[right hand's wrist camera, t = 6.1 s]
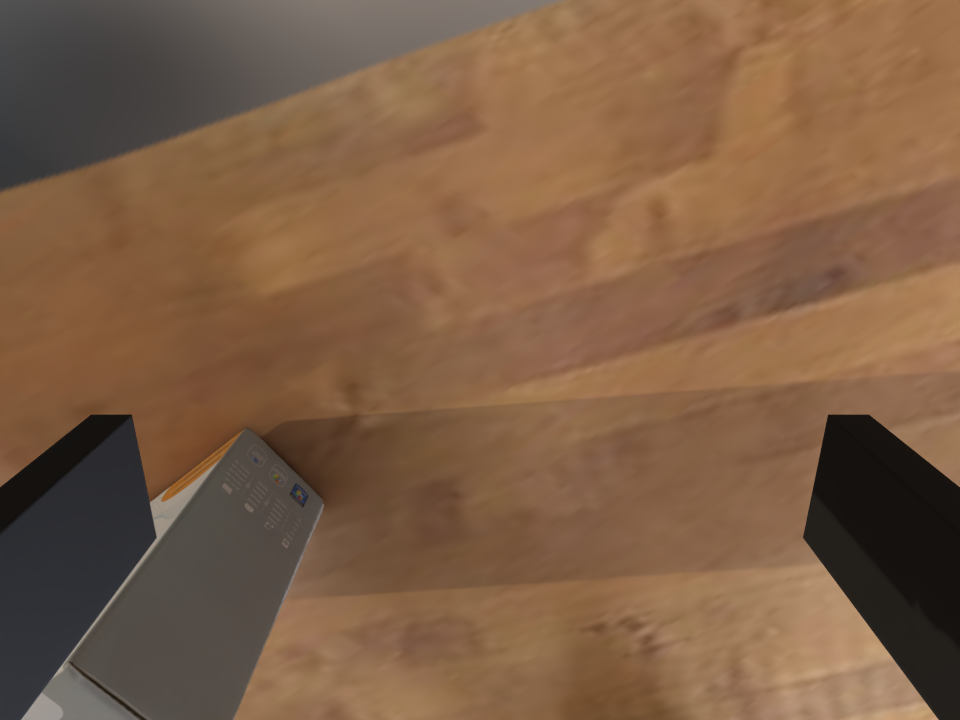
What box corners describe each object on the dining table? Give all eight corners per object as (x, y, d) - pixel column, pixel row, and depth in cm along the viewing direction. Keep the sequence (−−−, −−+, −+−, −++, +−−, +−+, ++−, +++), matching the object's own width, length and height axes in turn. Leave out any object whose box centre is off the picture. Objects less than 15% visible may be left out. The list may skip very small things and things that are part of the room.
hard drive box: (248, 420, 43) (73, 659, 25) (329, 500, 45) (224, 776, 27) (90, 545, 47) (-169, 838, 28) (172, 614, 49) (-18, 928, 30)
